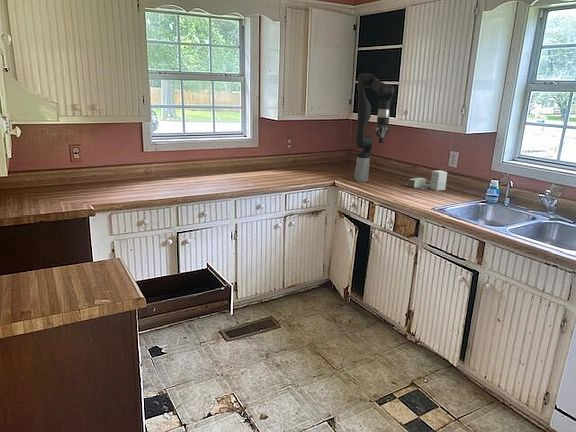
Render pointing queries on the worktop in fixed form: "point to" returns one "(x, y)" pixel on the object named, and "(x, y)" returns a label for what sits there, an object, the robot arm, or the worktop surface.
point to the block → (416, 182)
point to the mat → (421, 186)
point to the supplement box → (438, 180)
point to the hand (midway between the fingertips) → (380, 143)
